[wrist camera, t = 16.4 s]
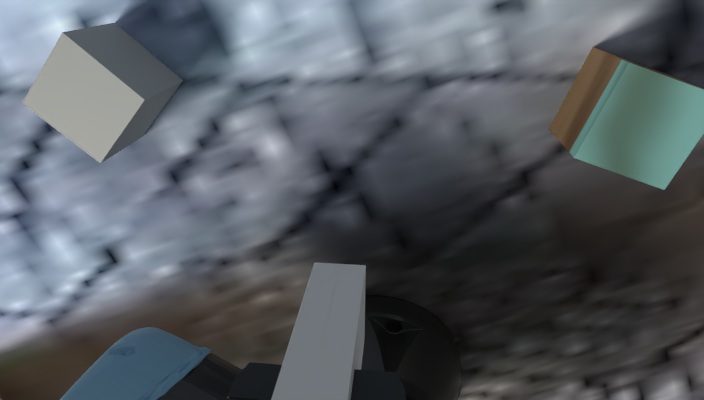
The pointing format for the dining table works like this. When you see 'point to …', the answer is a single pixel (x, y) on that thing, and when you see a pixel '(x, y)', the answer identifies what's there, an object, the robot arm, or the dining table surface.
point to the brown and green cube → (630, 119)
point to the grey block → (101, 89)
